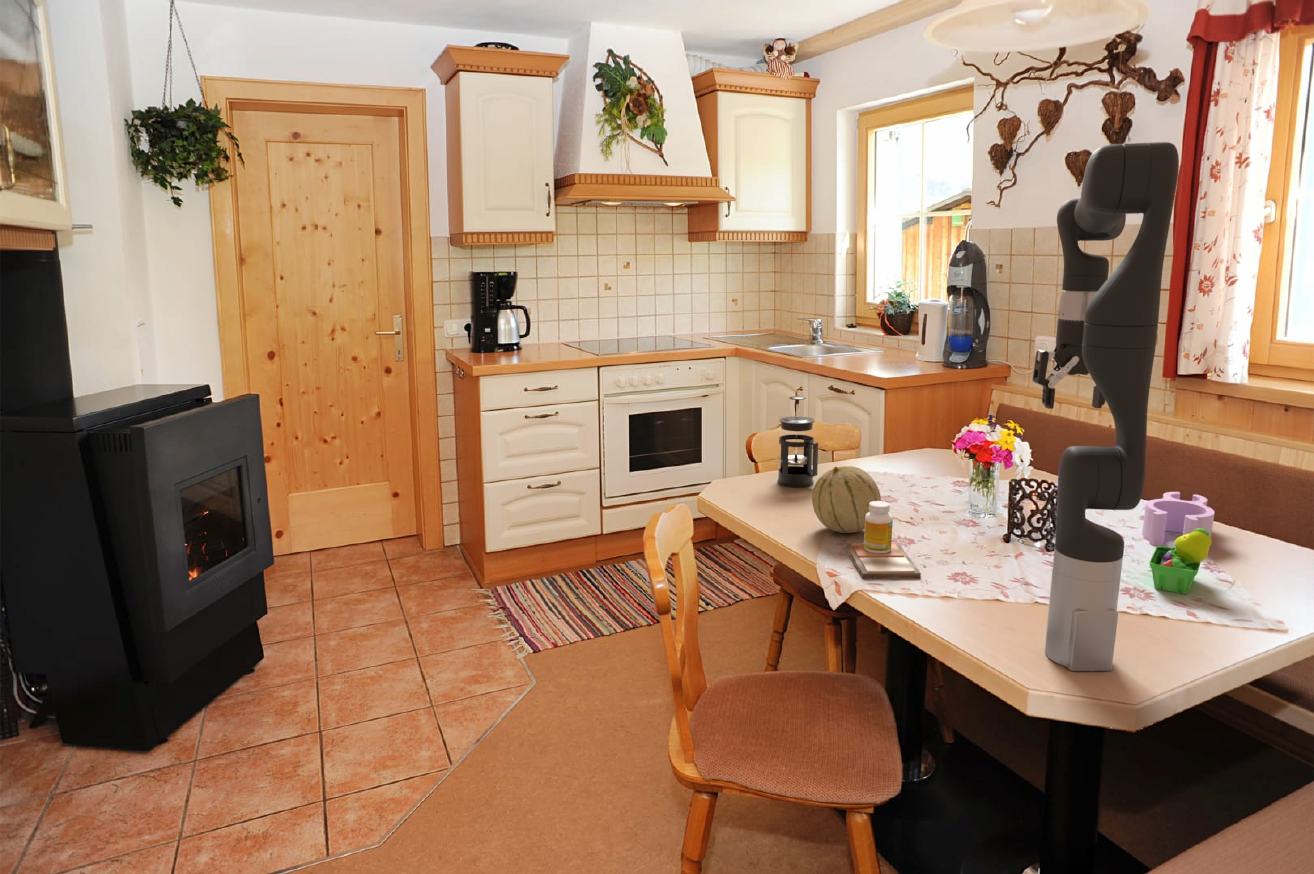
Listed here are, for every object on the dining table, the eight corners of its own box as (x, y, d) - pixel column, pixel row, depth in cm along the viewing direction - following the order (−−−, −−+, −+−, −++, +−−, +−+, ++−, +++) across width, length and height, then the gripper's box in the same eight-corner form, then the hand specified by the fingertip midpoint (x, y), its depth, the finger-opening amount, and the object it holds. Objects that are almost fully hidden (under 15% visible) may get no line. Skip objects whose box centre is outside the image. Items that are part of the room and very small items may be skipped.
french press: (768, 482, 230) (769, 396, 225) (790, 475, 237) (792, 391, 231) (803, 491, 222) (805, 402, 217) (826, 483, 228) (828, 397, 223)
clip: (1151, 517, 199) (1155, 488, 197) (1216, 528, 191) (1220, 497, 190) (1136, 543, 183) (1140, 511, 181) (1206, 555, 176) (1210, 522, 174)
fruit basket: (1153, 569, 168) (1160, 514, 166) (1207, 579, 163) (1215, 522, 161) (1145, 589, 159) (1152, 530, 157) (1202, 600, 154) (1210, 540, 152)
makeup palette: (920, 577, 166) (921, 571, 166) (862, 578, 166) (862, 571, 166) (898, 548, 181) (899, 542, 181) (845, 548, 182) (845, 542, 181)
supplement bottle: (891, 554, 174) (894, 508, 172) (864, 553, 175) (866, 507, 173) (890, 545, 179) (892, 500, 177) (863, 544, 180) (865, 499, 178)
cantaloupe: (893, 533, 190) (897, 466, 187) (846, 547, 182) (849, 478, 179) (843, 516, 202) (845, 453, 199) (796, 528, 194) (798, 463, 191)
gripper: (1049, 319, 149) (1041, 412, 153) (1133, 318, 149) (1123, 411, 152) (1031, 315, 156) (1024, 404, 160) (1111, 314, 156) (1102, 403, 160)
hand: (1072, 407), depth 156 cm, fingers open, 8 cm apart
